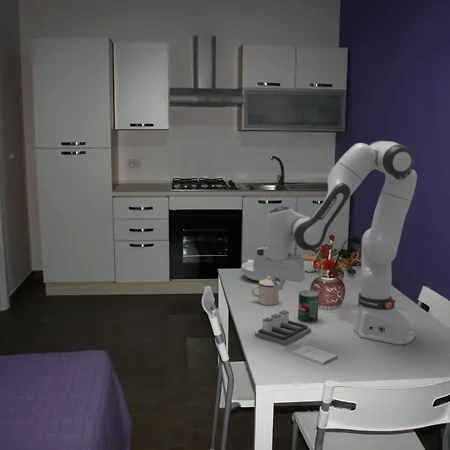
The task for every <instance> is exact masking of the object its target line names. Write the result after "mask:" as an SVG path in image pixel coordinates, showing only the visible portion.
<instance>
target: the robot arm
mask: <svg viewBox="0 0 450 450" xmlns="http://www.w3.org/2000/svg"><path fill="white" fill-rule="evenodd" d="M373 170H376V171H379V172H381V173H383V174H384V177H385V179H384V184H383V186H382V189H381V192H380V194H379V197H378V200H377V203H376V205H375V206H376V207H375V209H374V214H373V218H372V222H371V226H370V228H369V229H367V230H366V231H365V232H364V233H363V236H362V239H361V257H360V258H361V263H360V264H361V266H360V267H361V275H360V290H359V293H358V298H357V299H358V300H357V307H358V308H357V311H358V312H357V316H356V318H355V319H356V320H355V322H354V326H353V327H352V328H353V330H354V332H356V333H357V335H358V336H359V337H360V338H364V339H369V340H373V341H378V342H384V343H387V344H388V343H389V344H392V345H398V346H399V345H400V346H402V345H403V346H404V345H407V344H409V343H411V342H412V341H414V340H415V338H416V334H415V332H414V331H412V330H410V324H409V320H408V318H407V317H406V316H405V315H404V314H402V313H401V312H400V311H399V309H397V308H396V307H395V303H397V298H395V299H394V298H392V296H391V292H392V281H393V280H392V279H393V275H392V272H393V271H392V262H393V261H394V260H395V258H396V256H397V254H398V248H399V244H400V241H401V236H402V232H403V226H404V223H405V220H406V216H407V214H408V211H409V208H410V206H411V203H412V200H413V198H414V194H415V189H416V187H417V186H416V185H417V181H418V175H417V172H416V170H414V155H413V152H412V150H410V148H408V147H407V146H405V145H403V144H399V143H397V142H395V141H387V140H384V139H383V140H382V139H381V140H380V139H379V140H375V141H373V142H370V143H368V144H367V143H363V142H358V143H355V144H353V145H352V146H351V147H350V148H349V149H348V150H347V151H346V152H345V153H343V155H342V156H341V157H340V158H339V159H338V161H337V162H336V163H335V165H334V166H333V167H332V169H331V171H330V172H329V174H328V176H327V182H326V183H327V194H326V197H325V199H323V202H322V203H321V204H320V206H319V207H318V208H317V210H316V212H315V213H314V214H313V215H312V217H310V216H307V215H304V214H301V213H298V212H296V211H295V210H293V209H291V207H288V206H278V207H275V208H273V209H271V210H270V211H269V212H268V217H267V227H266V229H267V230H266V231H267V241H266V245H265V246H261V247H258V248H256V249H255V250H254V257H253V261H254V262H253V270H254V272H255V273H257V274H262V275H266V276H271V280H272V283H273V284H274V289H278V290H279V291H281V290H283V287H284V284H285V283H286V281H290V282H295V283H300V282H303V281H304V280H305V277H306V276H305V275H306V274H305V271H304V260H303V258H302V257H301V256H300V255H295V254H292V247H293V246H292V243H296V244H297V246H298V247H299V248H300V249H302V250H305V251H314V250H317V249H319V248H320V247H321V246H322V244H323V243H324V241H325V239H326V235H327V232H328V229H329V228H330V226H331V224H332V223H333V221H334V220H335V219H336V218H337V216H338V214H339V213H340V212H341V210H342V209H343V207H344V206H345V204H346V202H348V200H349V198H350V197H351V196H352V194H353V193H354V192H355V191H356V190H357V188H358V187H359V186H360V185H361V184H362V182H363V181H364V180H365V178H366V177H367V176H368V175H369V174H370V173H371V172H372V171H373ZM278 279H279V280H278ZM277 281H278V282H279V284H278V283H277Z"/></svg>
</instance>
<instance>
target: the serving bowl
mask: <svg viewBox="0 0 450 450" xmlns="http://www.w3.org/2000/svg"><path fill="white" fill-rule="evenodd" d="M253 262H254V260H251V261H246V262H244V263H242V265H241V271H242V273H243V275H244V276H245V277H246V278H247V279H250V280H252V281H257V282H259V281H260V280H264V279H266V278H267V276H266V275H262V274H257V273H255V272H254V270H253Z"/></svg>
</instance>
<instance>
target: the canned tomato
mask: <svg viewBox="0 0 450 450" xmlns="http://www.w3.org/2000/svg"><path fill="white" fill-rule="evenodd" d="M319 295H320V293H319V292H317V291H315V290H310V289H305V290H303V289H302V290H299V291H298V303H297V304H298V307H297V309H298V311H297V320H298V321H300V322H302V323H306V324H313V323H317V322H318V321H319V320H318V317H319V316H318V315H319V299H320V298H319Z"/></svg>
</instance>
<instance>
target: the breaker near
mask: <svg viewBox="0 0 450 450" xmlns="http://www.w3.org/2000/svg"><path fill="white" fill-rule="evenodd" d="M278 314H279V315H281V323H283V324H288V322H289V321H290V318H289V317H290V311H289V310H285V309H283V310H280V311H279V313H278Z"/></svg>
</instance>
